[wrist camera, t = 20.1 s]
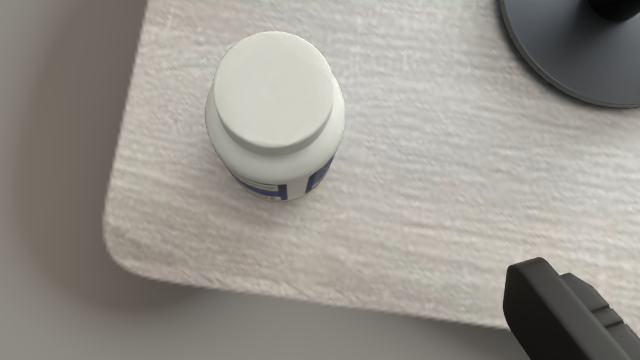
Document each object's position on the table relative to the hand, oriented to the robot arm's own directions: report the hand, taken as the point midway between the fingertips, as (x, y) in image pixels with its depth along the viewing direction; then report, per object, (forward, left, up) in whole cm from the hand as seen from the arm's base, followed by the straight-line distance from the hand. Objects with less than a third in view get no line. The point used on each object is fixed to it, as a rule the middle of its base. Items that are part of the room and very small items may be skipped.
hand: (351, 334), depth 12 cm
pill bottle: (-1, +7, -13) cm, 15 cm away
